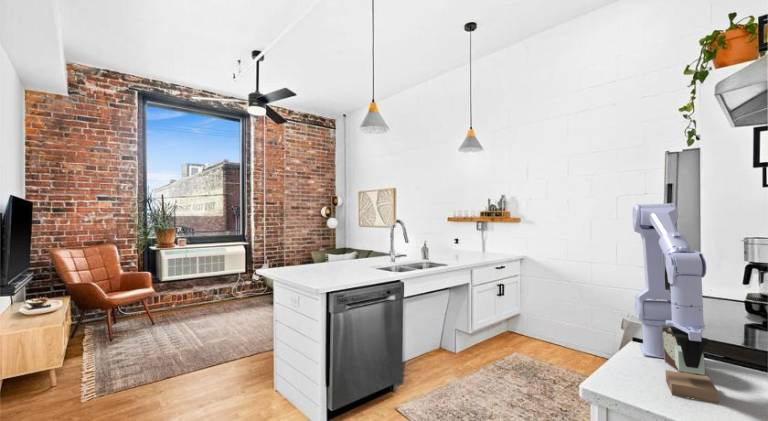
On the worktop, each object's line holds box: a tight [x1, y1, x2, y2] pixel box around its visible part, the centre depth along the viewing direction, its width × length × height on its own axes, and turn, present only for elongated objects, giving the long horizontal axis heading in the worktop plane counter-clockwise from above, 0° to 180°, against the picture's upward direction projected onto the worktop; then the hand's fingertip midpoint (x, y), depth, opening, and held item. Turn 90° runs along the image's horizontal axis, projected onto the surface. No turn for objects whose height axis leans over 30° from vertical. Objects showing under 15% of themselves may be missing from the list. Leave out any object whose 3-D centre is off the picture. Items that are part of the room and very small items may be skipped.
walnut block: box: [665, 369, 720, 404], centre depth 84 cm, size 8×8×3 cm
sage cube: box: [674, 345, 706, 376], centre depth 84 cm, size 4×4×4 cm
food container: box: [661, 325, 703, 375], centre depth 95 cm, size 12×6×10 cm, turn 168°
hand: (689, 362), depth 84 cm, fingers closed on sage cube, 4 cm apart
